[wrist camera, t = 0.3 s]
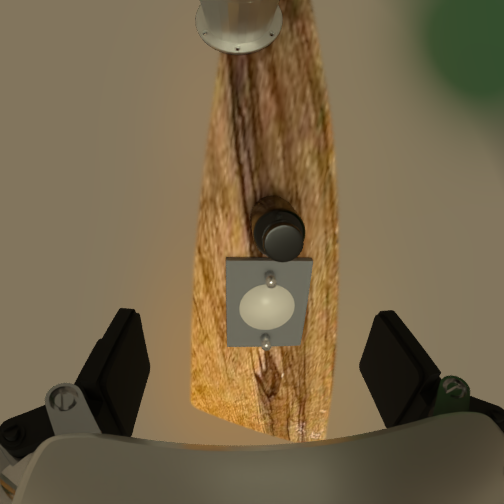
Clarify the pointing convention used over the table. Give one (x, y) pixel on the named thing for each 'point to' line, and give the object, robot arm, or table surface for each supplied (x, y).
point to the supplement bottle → (277, 229)
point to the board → (266, 301)
